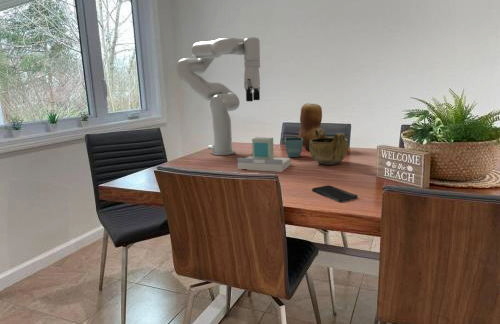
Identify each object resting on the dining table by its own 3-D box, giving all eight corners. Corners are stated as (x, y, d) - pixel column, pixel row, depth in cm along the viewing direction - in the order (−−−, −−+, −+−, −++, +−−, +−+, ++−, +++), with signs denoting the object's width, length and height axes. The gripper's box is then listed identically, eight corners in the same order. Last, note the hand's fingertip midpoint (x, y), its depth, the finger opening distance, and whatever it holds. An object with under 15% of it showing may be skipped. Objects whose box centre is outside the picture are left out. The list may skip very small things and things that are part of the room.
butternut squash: (327, 150, 194) (327, 103, 188) (304, 152, 191) (304, 104, 185) (315, 146, 207) (316, 102, 202) (294, 148, 204) (293, 103, 198)
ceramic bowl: (358, 167, 155) (359, 132, 152) (322, 170, 151) (322, 135, 148) (333, 157, 176) (333, 126, 173) (301, 160, 172) (301, 128, 169)
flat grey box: (237, 169, 158) (237, 158, 157) (249, 162, 171) (249, 152, 170) (281, 172, 151) (281, 160, 150) (290, 164, 164) (290, 153, 163)
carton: (256, 159, 163) (256, 137, 161) (273, 160, 160) (273, 137, 158) (252, 161, 158) (251, 139, 156) (270, 162, 155) (269, 139, 153)
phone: (328, 185, 127) (359, 195, 114) (328, 188, 128) (358, 199, 115) (310, 188, 124) (339, 200, 111) (310, 191, 124) (339, 203, 111)
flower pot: (302, 154, 185) (302, 137, 183) (303, 158, 176) (303, 140, 174) (285, 154, 186) (284, 137, 184) (285, 158, 177) (284, 140, 175)
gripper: (251, 65, 183) (252, 99, 186) (238, 64, 167) (239, 101, 171) (265, 64, 180) (266, 99, 184) (253, 63, 164) (254, 101, 168)
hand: (253, 100), depth 177 cm, fingers open, 9 cm apart
